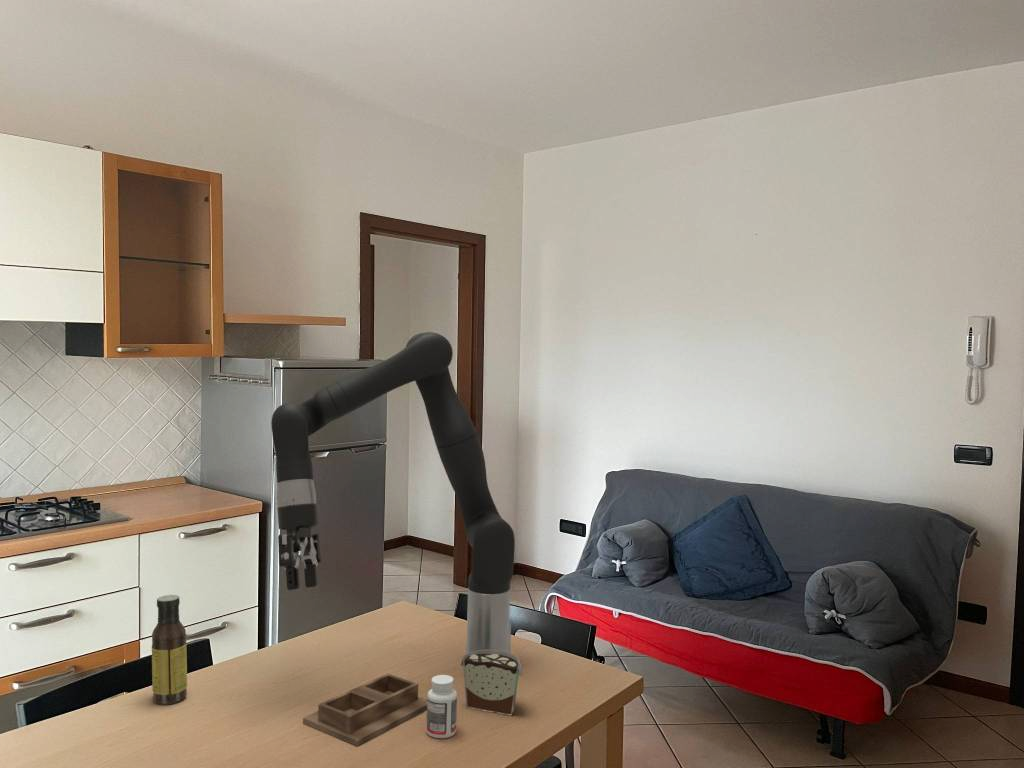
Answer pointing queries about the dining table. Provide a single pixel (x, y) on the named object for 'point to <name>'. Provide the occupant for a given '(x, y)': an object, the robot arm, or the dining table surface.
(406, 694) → the walnut organizer
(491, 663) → the food container
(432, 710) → the pill bottle
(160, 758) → the dining table surface
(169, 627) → the sauce bottle
